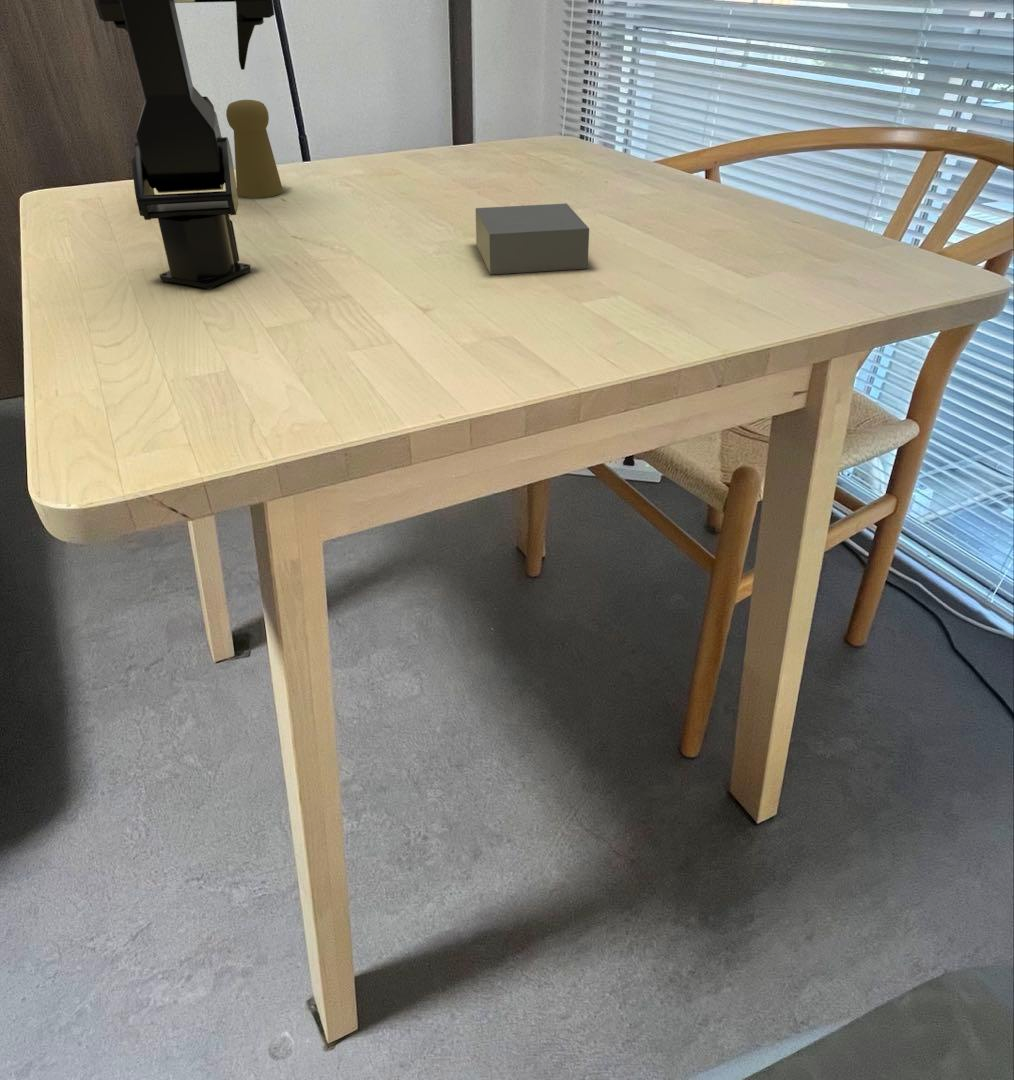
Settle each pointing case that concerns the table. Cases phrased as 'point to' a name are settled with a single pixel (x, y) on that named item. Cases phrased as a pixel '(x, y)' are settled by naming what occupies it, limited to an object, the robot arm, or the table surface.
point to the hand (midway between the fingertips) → (203, 69)
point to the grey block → (531, 238)
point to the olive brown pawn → (253, 150)
